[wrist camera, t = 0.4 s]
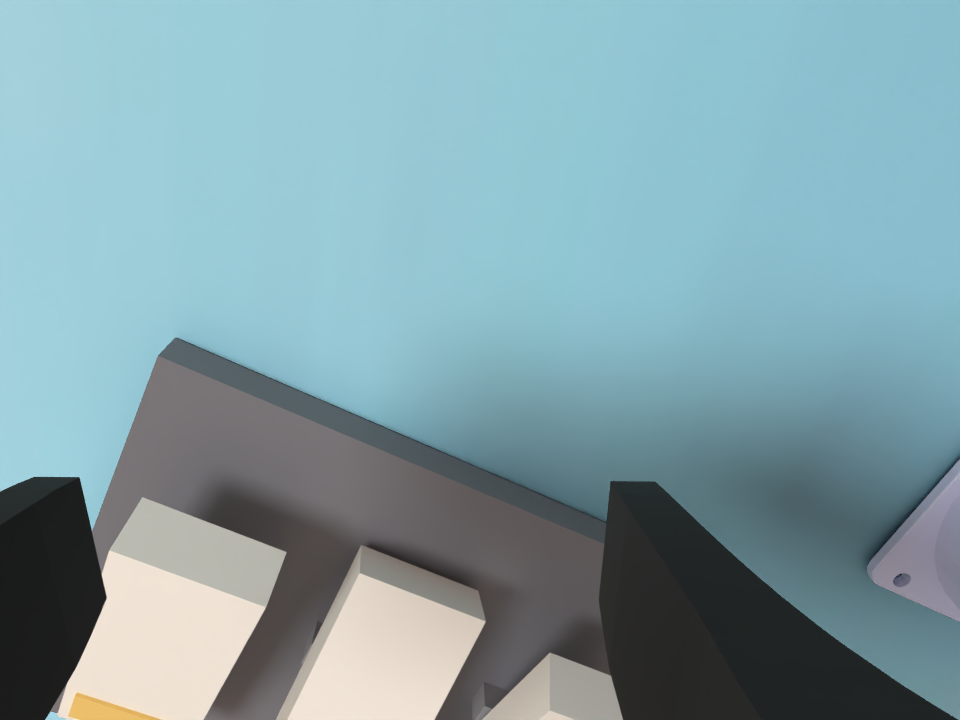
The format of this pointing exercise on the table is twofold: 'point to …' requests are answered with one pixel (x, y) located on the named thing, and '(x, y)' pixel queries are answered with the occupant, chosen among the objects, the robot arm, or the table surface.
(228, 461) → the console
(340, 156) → the table surface
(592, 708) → the block
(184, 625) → the rocker
